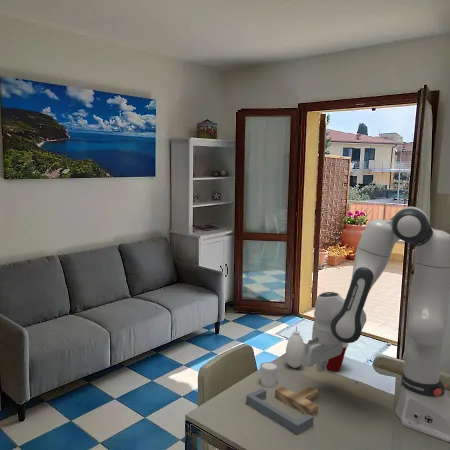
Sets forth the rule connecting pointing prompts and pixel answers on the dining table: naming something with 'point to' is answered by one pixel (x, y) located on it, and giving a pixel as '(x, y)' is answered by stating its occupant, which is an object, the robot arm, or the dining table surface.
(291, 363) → the sauce bottle
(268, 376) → the white cylinder
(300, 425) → the dock
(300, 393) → the t block
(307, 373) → the dining table surface
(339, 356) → the plastic cup
